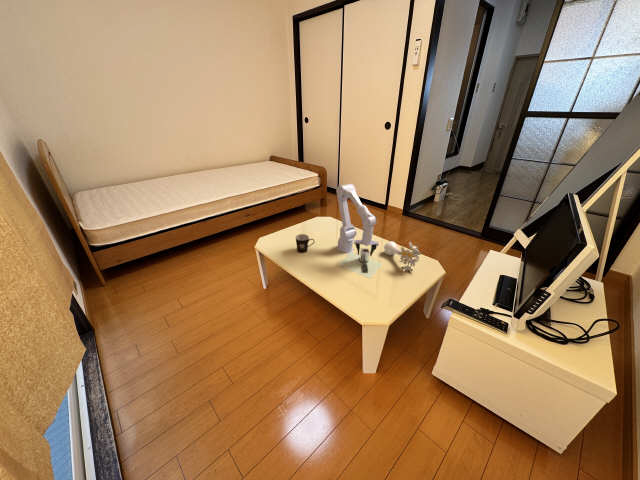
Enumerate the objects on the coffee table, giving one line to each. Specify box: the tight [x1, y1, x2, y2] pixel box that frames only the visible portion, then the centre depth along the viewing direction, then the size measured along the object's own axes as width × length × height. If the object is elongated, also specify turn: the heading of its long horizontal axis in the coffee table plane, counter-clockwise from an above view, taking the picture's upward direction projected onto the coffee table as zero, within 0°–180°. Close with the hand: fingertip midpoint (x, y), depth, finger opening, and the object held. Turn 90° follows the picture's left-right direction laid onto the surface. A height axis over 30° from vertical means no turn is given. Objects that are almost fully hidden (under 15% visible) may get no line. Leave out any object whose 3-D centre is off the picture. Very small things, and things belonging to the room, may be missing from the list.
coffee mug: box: [295, 233, 315, 254], centre depth 160 cm, size 12×9×10 cm
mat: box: [337, 251, 383, 279], centre depth 151 cm, size 22×18×1 cm
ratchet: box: [359, 257, 369, 273], centre depth 149 cm, size 16×6×4 cm, turn 176°
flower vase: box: [383, 240, 421, 271], centre depth 153 cm, size 13×18×25 cm
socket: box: [359, 247, 370, 261], centre depth 152 cm, size 5×5×6 cm
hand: (364, 254), depth 152 cm, fingers open, 7 cm apart
